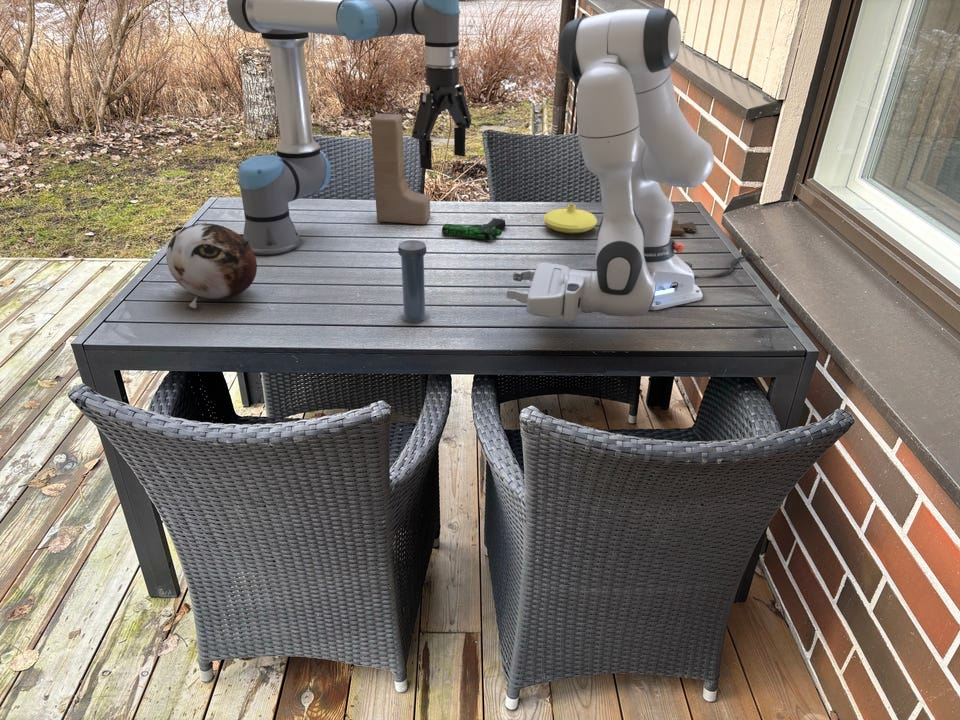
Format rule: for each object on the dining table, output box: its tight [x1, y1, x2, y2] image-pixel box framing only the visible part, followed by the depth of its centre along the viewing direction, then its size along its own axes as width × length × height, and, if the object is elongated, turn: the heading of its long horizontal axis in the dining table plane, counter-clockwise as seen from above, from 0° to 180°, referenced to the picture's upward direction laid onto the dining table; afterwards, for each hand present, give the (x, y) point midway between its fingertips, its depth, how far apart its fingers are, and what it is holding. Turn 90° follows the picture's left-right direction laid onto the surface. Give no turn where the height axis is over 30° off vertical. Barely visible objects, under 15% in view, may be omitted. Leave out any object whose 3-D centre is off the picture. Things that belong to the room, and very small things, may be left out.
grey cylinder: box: [400, 255, 426, 323], centre depth 157 cm, size 5×5×17 cm
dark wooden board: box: [671, 219, 697, 235], centre depth 211 cm, size 26×2×10 cm
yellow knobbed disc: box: [543, 203, 598, 234], centre depth 209 cm, size 16×16×7 cm
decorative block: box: [370, 113, 431, 225], centre depth 208 cm, size 8×15×30 cm, turn 82°
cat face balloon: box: [165, 222, 258, 309], centre depth 165 cm, size 22×18×20 cm
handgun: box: [441, 217, 506, 242], centre depth 207 cm, size 16×3×15 cm
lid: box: [397, 239, 427, 258], centre depth 153 cm, size 6×6×2 cm
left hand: (443, 161), depth 169 cm, fingers open, 13 cm apart
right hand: (510, 284), depth 152 cm, fingers open, 8 cm apart
